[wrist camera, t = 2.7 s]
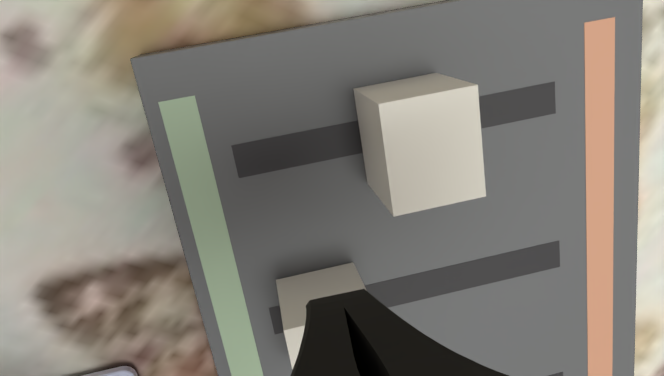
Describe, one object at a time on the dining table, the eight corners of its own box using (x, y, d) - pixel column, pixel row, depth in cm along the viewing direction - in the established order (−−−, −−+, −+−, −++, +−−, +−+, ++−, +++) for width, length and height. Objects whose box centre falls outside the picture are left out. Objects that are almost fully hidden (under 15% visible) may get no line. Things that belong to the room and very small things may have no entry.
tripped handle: (367, 183, 20) (393, 216, 17) (353, 88, 19) (378, 104, 16) (445, 166, 20) (486, 196, 17) (436, 72, 19) (477, 84, 16)
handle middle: (292, 357, 22) (303, 418, 18) (275, 279, 20) (283, 330, 17) (366, 339, 22) (388, 396, 19) (353, 262, 21) (375, 308, 18)
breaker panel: (256, 482, 26) (258, 519, 24) (140, 54, 19) (129, 58, 17) (606, 389, 28) (633, 416, 26) (607, -28, 21) (643, -33, 19)
